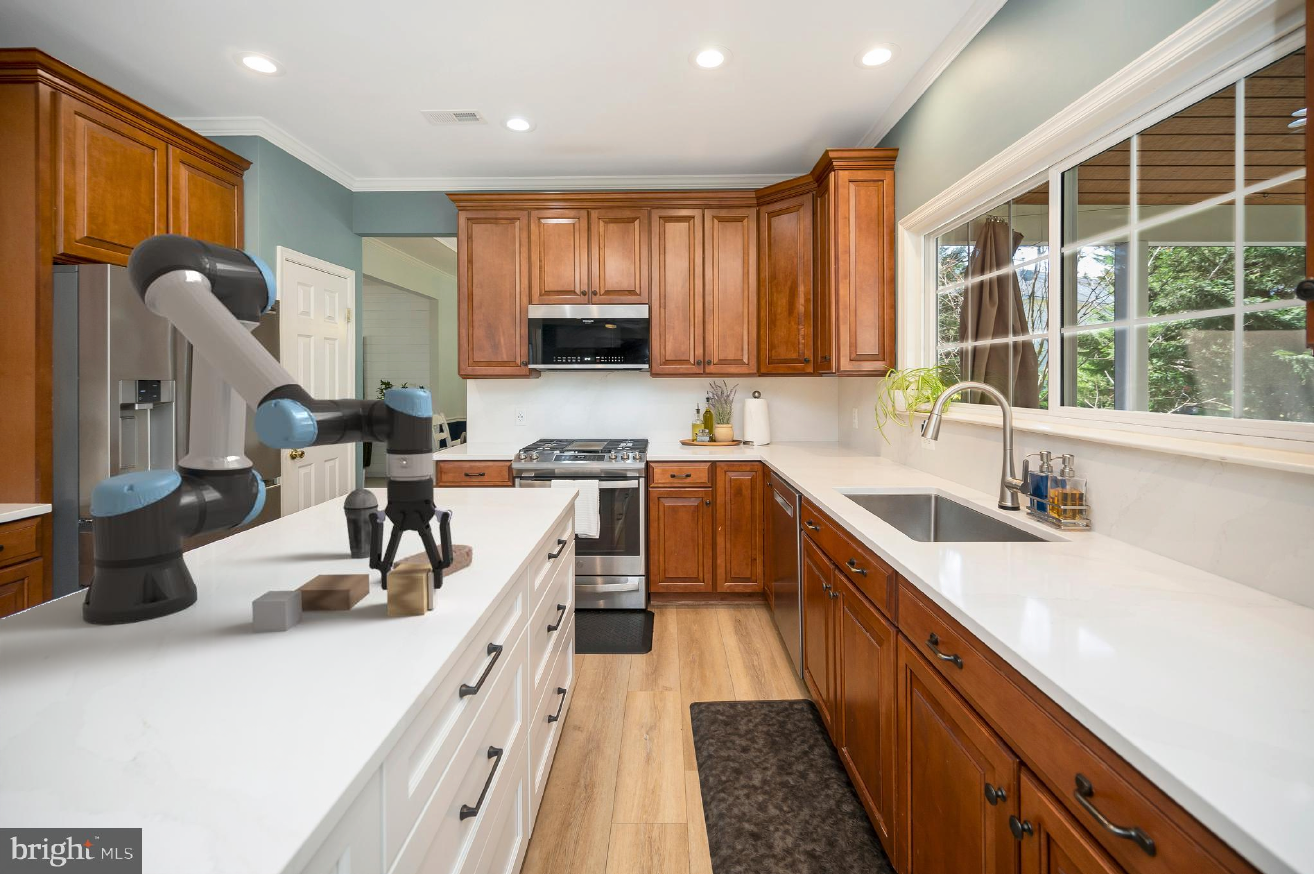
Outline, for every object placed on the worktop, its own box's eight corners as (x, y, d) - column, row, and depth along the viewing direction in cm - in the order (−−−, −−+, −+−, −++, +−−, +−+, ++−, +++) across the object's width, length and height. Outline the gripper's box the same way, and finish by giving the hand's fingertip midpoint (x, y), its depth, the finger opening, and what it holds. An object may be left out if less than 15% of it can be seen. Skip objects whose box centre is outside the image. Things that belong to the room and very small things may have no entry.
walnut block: (295, 612, 105) (294, 590, 105) (319, 595, 114) (319, 574, 113) (349, 612, 106) (348, 589, 105) (369, 594, 115) (369, 574, 114)
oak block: (387, 615, 103) (387, 575, 103) (401, 601, 110) (400, 564, 110) (423, 615, 104) (423, 575, 103) (435, 601, 111) (434, 563, 110)
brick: (424, 588, 118) (424, 564, 118) (389, 583, 121) (389, 560, 121) (474, 566, 134) (474, 545, 134) (442, 562, 137) (442, 542, 136)
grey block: (253, 632, 96) (252, 601, 95) (270, 620, 101) (269, 590, 100) (286, 631, 96) (285, 600, 96) (302, 619, 101) (301, 590, 101)
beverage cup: (337, 559, 137) (335, 471, 135) (358, 550, 144) (356, 467, 143) (366, 560, 136) (364, 472, 134) (386, 552, 143) (384, 468, 141)
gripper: (343, 480, 101) (347, 615, 102) (461, 480, 102) (463, 613, 104) (361, 474, 108) (364, 600, 110) (471, 474, 110) (473, 598, 111)
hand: (412, 606), depth 107 cm, fingers open, 6 cm apart
